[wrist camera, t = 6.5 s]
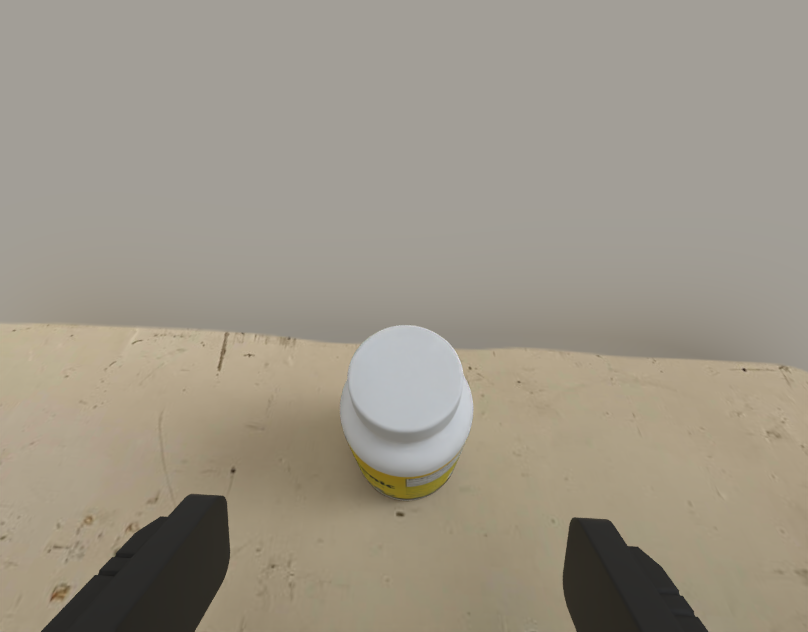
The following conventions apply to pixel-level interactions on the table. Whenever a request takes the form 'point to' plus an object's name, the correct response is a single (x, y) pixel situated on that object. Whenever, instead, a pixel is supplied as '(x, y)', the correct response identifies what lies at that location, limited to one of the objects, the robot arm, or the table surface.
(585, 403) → the table surface
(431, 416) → the supplement bottle
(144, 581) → the robot arm
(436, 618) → the table surface
